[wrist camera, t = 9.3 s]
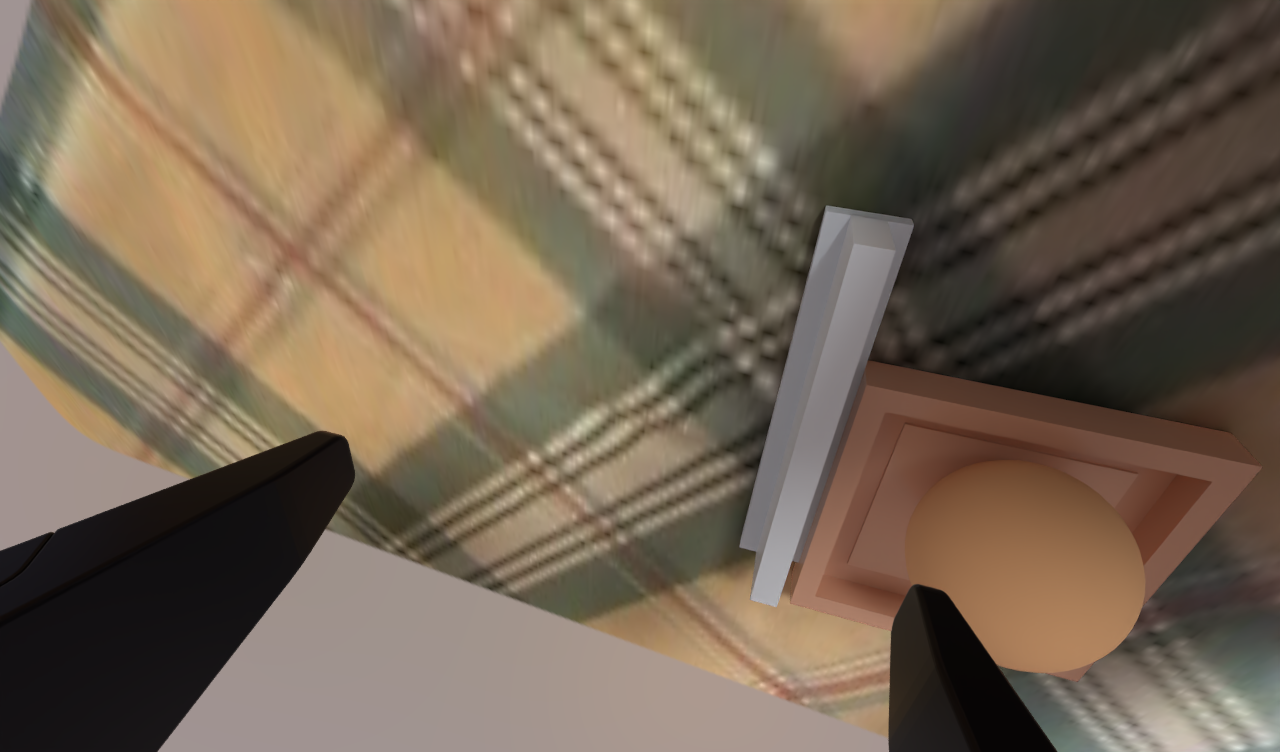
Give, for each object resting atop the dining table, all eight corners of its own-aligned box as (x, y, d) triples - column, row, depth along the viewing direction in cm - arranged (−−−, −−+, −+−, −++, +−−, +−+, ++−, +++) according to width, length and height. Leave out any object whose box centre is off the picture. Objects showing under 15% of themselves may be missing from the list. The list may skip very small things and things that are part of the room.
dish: (1231, 433, 18) (1263, 467, 17) (1063, 644, 24) (1077, 682, 22) (864, 359, 20) (866, 384, 18) (791, 572, 26) (789, 603, 24)
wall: (911, 218, 17) (925, 255, 15) (799, 551, 25) (795, 612, 22) (826, 205, 18) (825, 238, 15) (741, 536, 25) (731, 594, 23)
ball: (1095, 468, 20) (1234, 517, 14) (1049, 637, 21) (1166, 752, 15) (908, 428, 21) (967, 458, 15) (869, 589, 22) (911, 679, 16)
